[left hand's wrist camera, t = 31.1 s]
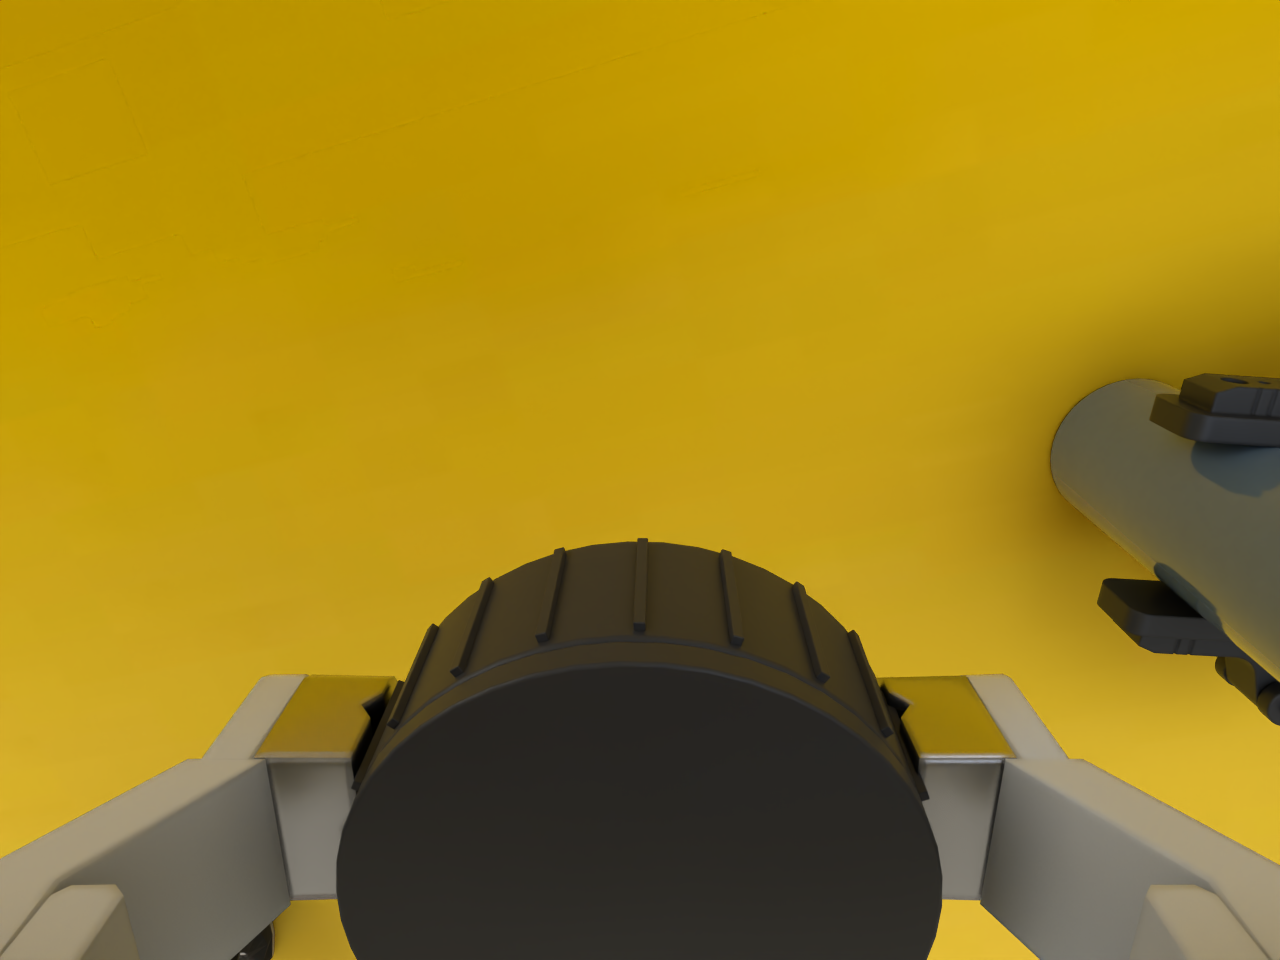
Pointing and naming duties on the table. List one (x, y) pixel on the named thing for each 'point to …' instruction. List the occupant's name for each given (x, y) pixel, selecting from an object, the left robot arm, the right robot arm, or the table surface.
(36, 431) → the table surface
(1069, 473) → the jar
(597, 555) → the lid
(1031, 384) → the table surface
